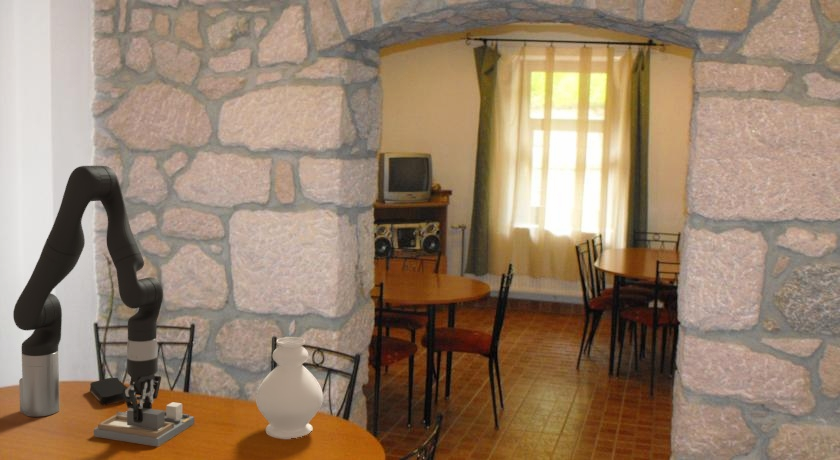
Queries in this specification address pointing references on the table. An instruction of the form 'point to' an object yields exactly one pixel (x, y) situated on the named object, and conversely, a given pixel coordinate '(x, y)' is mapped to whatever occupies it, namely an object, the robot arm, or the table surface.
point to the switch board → (142, 430)
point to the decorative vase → (289, 392)
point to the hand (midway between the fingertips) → (142, 419)
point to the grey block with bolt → (146, 418)
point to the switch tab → (174, 411)
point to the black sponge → (108, 390)
